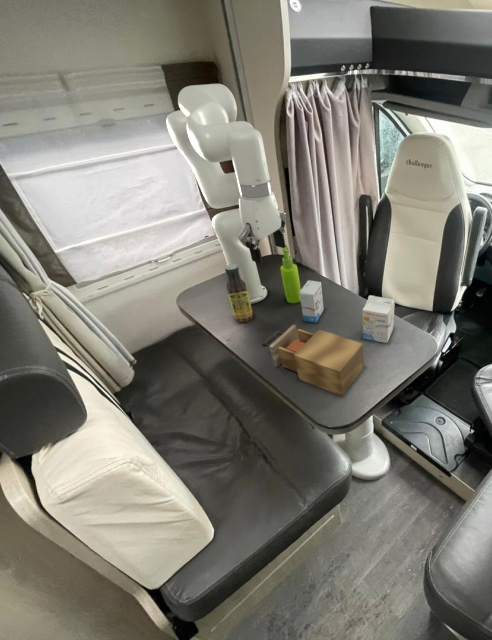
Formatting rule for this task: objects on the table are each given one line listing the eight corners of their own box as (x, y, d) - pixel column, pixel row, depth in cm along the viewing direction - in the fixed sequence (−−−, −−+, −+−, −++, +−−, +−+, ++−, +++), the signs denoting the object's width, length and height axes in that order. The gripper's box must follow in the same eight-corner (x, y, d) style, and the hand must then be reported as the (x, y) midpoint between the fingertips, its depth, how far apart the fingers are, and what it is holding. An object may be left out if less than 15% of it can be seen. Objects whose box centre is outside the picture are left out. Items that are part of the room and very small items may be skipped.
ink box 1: (317, 323, 125) (312, 294, 117) (303, 321, 126) (298, 292, 118) (324, 309, 131) (321, 280, 123) (311, 307, 132) (307, 279, 124)
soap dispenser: (300, 292, 140) (292, 242, 126) (303, 301, 135) (295, 251, 122) (285, 294, 139) (275, 245, 125) (287, 304, 134) (277, 254, 120)
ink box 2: (362, 339, 119) (361, 305, 110) (369, 324, 125) (369, 290, 116) (387, 343, 117) (388, 309, 108) (393, 328, 123) (395, 294, 114)
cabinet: (298, 379, 105) (293, 354, 99) (322, 353, 114) (319, 329, 107) (342, 396, 101) (339, 371, 94) (363, 367, 109) (362, 343, 103)
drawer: (260, 360, 110) (254, 341, 105) (283, 339, 117) (279, 319, 112) (312, 380, 104) (308, 360, 99) (333, 356, 111) (330, 336, 106)
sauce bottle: (236, 324, 125) (219, 273, 111) (234, 315, 129) (218, 264, 115) (255, 320, 126) (241, 269, 113) (253, 311, 131) (239, 260, 117)
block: (288, 358, 109) (285, 347, 106) (297, 350, 112) (294, 339, 109) (300, 363, 107) (298, 352, 105) (309, 354, 110) (307, 343, 107)
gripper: (266, 176, 94) (278, 238, 106) (217, 197, 83) (236, 264, 95) (290, 180, 92) (299, 244, 104) (242, 203, 81) (259, 271, 92)
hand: (269, 254), depth 99 cm, fingers open, 9 cm apart
